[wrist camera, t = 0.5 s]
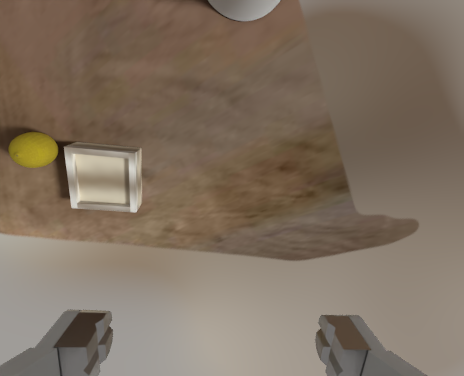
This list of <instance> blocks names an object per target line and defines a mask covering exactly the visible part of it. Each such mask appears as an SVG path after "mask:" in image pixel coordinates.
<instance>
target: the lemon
mask: <svg viewBox="0 0 464 376" xmlns="http://www.w3.org/2000/svg"><path fill="white" fill-rule="evenodd" d="M9 154H10V156H11V158H12V159H13V160H14V161H15V162H16V163H17V164H19V165H21V166H24V167H29V168H37V167H42V166H45V165H48V164H49V163H51V162H52V161H53V160H54V159H55V158H56V156H57V154H58V146H57V144H56V142H55V141H54V140H53V139H52V138H51V137H50V136H48V135H46V134H43V133H39V132H28V133H24V134H21V135H19V136H17V137H16V138H14V139H13V140H12V141H11V143H10V145H9Z"/></svg>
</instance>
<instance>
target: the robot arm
mask: <svg viewBox="0 0 464 376" xmlns="http://www.w3.org/2000/svg"><path fill="white" fill-rule="evenodd" d="M280 1H281V0H208V2H209V3H210V4H211V5H212V6H213V7H214V8H215V9H216V10H217V11H218V12H219V13H221V14H222V15H224V16H226V17H228V18H230V19H233V20H237V21H252V20H256V19H258V18H261V17H263V16H265V15H266V14H268V13H269V12H270V11H272V10H273V9H274V8H275V7H276V6H277V4H278V3H279V2H280ZM111 321H112V314H111V312H110V311H98V310H67V311H65V312H64V313H63V314H62V315H61V317H60V318H59V319H58V320H57V321H56V323H55V324H54V325H53V326H52V327H51V329H50V330H49V331H48V332H47V334H46V335H45V336H44V337H43V338H42V340H41V341H40V342H39V343H38V344H37V346H36V347H35V348H29V349H27V350H26V351H24V352H23V353H21V354H19V355H17V356H16V357H14V358H12V359H11V360H9V361H7V362H5V363H4V364H2V365H1V366H0V376H98V375H99V373H100V364H101V363H102V362H103V361H104V360H105V359H106V358H107V356H108V354H109V351H110V348H111V344H112V339H113V338H112V337H113V329H111V327H110V326H109V324H110V323H111ZM319 325H320V327H321V329H320V330H319V331H318V332H317V333H316V349H317V353H318V355H319V358H320V360H321V361H322V362H323V363H324V364H325V365H327V367H326V374H327V376H427V375H426V374H424V373H423V372H421V371H420V370H418V369H417V368H415V367H414V366H412V365H411V364H409V363H408V362H406V361H405V360H403V359H402V358H400V357H399V356H397V355H396V354H394V353H393V352H391V351H386V350H385V348H384V347H383V346H382V344H381V343H380V342H379V340H378V339H377V338H376V336H375V335H374V334H373V332H372V331H371V330H370V328H369V327H368V326H367V324H366V323H365V322H364V320H363V319H362V318H361V317H360V316H358V315H321V316H320V318H319Z"/></svg>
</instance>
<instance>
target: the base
mask: <svg viewBox="0 0 464 376" xmlns="http://www.w3.org/2000/svg"><path fill="white" fill-rule="evenodd" d="M64 153H65V161H66V169H67V176H68V184H69V192H70V199H71V207H72V208H78V209H93V210H108V211H123V212H137V210H138V208H139V207H140V205H141V204H142V160H141V148H136V147H125V146H115V145H105V144H95V143H84V142H75V143H72V144H70V145H67V146H64Z"/></svg>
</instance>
